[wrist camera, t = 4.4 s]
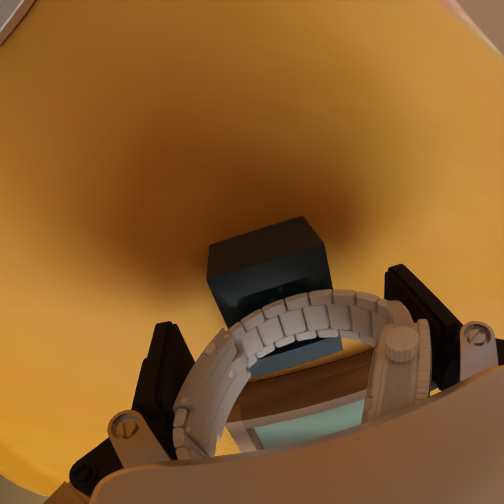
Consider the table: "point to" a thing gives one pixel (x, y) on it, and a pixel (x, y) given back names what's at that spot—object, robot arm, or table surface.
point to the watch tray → (300, 404)
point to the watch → (292, 331)
